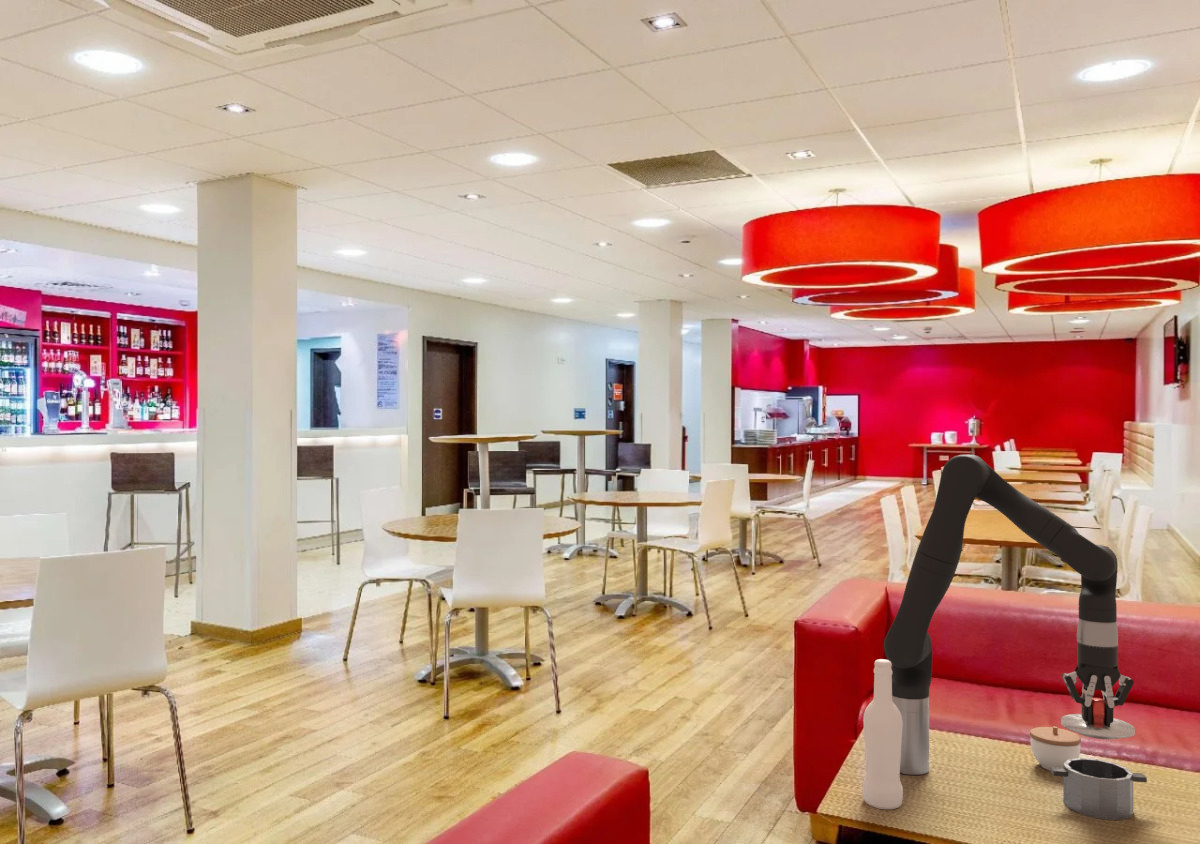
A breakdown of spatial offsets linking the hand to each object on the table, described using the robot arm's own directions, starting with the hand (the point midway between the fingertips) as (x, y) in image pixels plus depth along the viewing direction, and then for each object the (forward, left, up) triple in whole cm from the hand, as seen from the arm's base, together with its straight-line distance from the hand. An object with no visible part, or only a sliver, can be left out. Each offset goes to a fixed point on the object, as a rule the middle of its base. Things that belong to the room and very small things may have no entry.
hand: (1097, 723), depth 192 cm
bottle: (-44, -7, -18) cm, 48 cm away
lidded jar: (-2, +23, -18) cm, 29 cm away
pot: (0, 0, -17) cm, 17 cm away
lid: (0, 0, -2) cm, 2 cm away
